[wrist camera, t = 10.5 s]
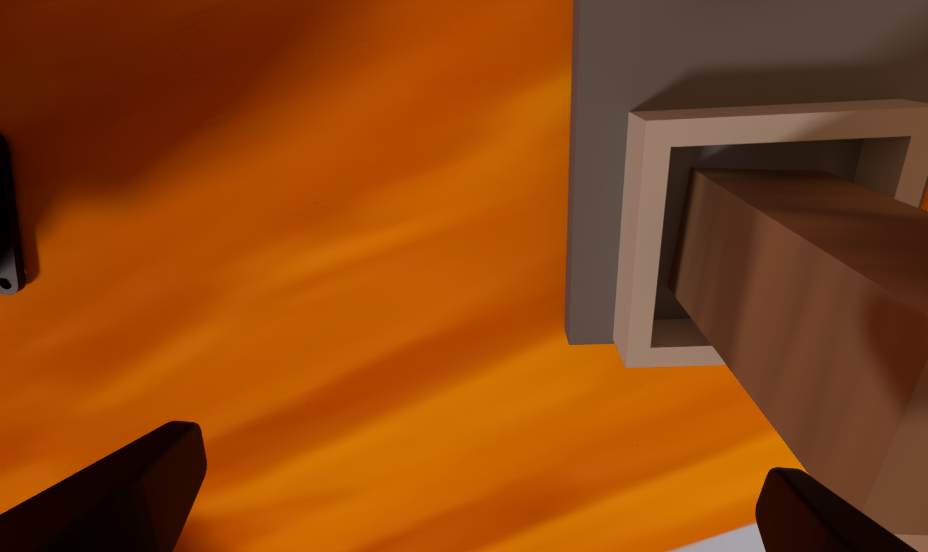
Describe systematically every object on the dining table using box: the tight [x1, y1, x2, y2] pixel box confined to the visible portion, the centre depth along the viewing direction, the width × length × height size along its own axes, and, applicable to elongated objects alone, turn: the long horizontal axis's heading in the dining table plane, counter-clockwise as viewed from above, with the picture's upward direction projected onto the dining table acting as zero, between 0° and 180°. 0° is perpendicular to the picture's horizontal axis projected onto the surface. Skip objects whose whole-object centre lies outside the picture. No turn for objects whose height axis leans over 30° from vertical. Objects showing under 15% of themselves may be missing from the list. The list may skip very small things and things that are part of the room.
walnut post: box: [668, 167, 928, 535], centre depth 14 cm, size 4×4×11 cm
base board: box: [565, 0, 928, 368], centre depth 16 cm, size 22×12×4 cm, turn 3°
